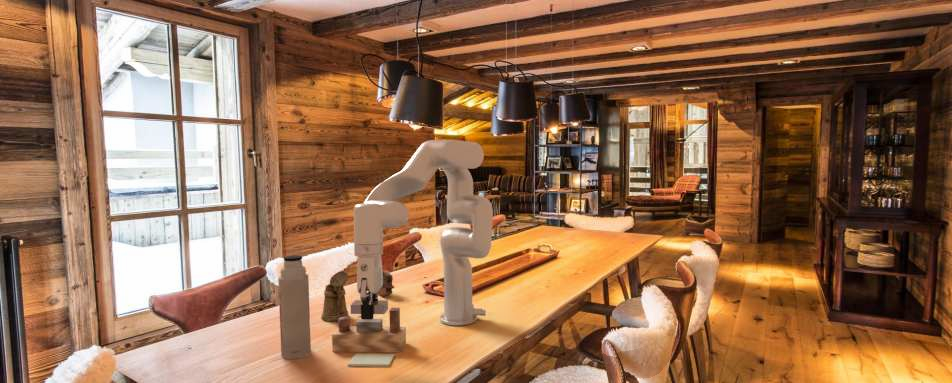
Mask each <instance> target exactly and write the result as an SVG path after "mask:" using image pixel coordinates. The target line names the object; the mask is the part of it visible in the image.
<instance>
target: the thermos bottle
mask: <svg viewBox="0 0 952 383" xmlns="http://www.w3.org/2000/svg"><path fill="white" fill-rule="evenodd" d="M283 260H284V261H283V267H282V268H280V273H279V274H280V275H279V276H278V279H277V280H278V300H279V301H278V302H279V303H278V304H279V323H280V324H279V327H280V328H279V331H280V352H281V353H280V355H281V357H282V358H284V359H288V360H289V359H290V360H291V359H292V360H293V359H299V358H300V359H301V358H304V357H307V356H308V355H309V354H311V352H312V347H311V346H312V344H311V343H312V341H311V327H310V326H311V324H310V319H311V317H310V312H311V311H310V288H309V286H310V284H309V281H310V280H309V274H307V269H306V266H304V265H303V261H302V260H303V255H297V254H294V255H287V256H286V255H285V256H284V257H283Z"/></svg>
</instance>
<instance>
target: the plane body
mask: <svg viewBox="0 0 952 383" xmlns="http://www.w3.org/2000/svg"><path fill="white" fill-rule="evenodd" d="M400 310H401V308H400V307H391V308H390V309H389V310H388V311H389V326H384V325H383V322H384V321H383V319H382V318H373V319H361V318H358V319H357V320H356V321H355V325H354V326H351V322H350V321H351V320H350V318H351V317H349V316H348V317H340V318H338V321H337V322H338V327H337V329H336V330H335V331H334V332H332V335H331V341H332V342H331V343H332V345H331V347H332V352H335V353H336V352H340V353H341V352H342V353H343V352H348V353H350V352H352V353H355V352H357V353H367V352H368V353H373V352H374V353H402V352H403V350H404V348H405V346H406V344H407V327H406V326H401V313H400V312H401V311H400Z"/></svg>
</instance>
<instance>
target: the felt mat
mask: <svg viewBox="0 0 952 383" xmlns="http://www.w3.org/2000/svg"><path fill="white" fill-rule="evenodd" d="M394 357H395V354H394V353H355V354H353V356H352V358H351V359H350V361H349V362H348V363H347V367H376V368H377V367H380V368H381V367H383V368H385V367H386V368H389V367H390V365H391V363H392V361H393V359H394Z"/></svg>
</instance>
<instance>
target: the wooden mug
mask: <svg viewBox="0 0 952 383" xmlns="http://www.w3.org/2000/svg"><path fill="white" fill-rule="evenodd" d="M348 280H349V274H348V273H346V272H344V271H339V272H336V273H334V275H332V276H331V277H330V280H329V284H326V286H325V289H324V292H323V296H324V300H323V306H322V307H323V309H322V313H321V320H322V321H324V322H325V321H326V322H338V318H340V317H349V310H348V308H347V302H346V301H347V300H346V290H345V287H344V285H345V284H346V283H347V281H348Z"/></svg>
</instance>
